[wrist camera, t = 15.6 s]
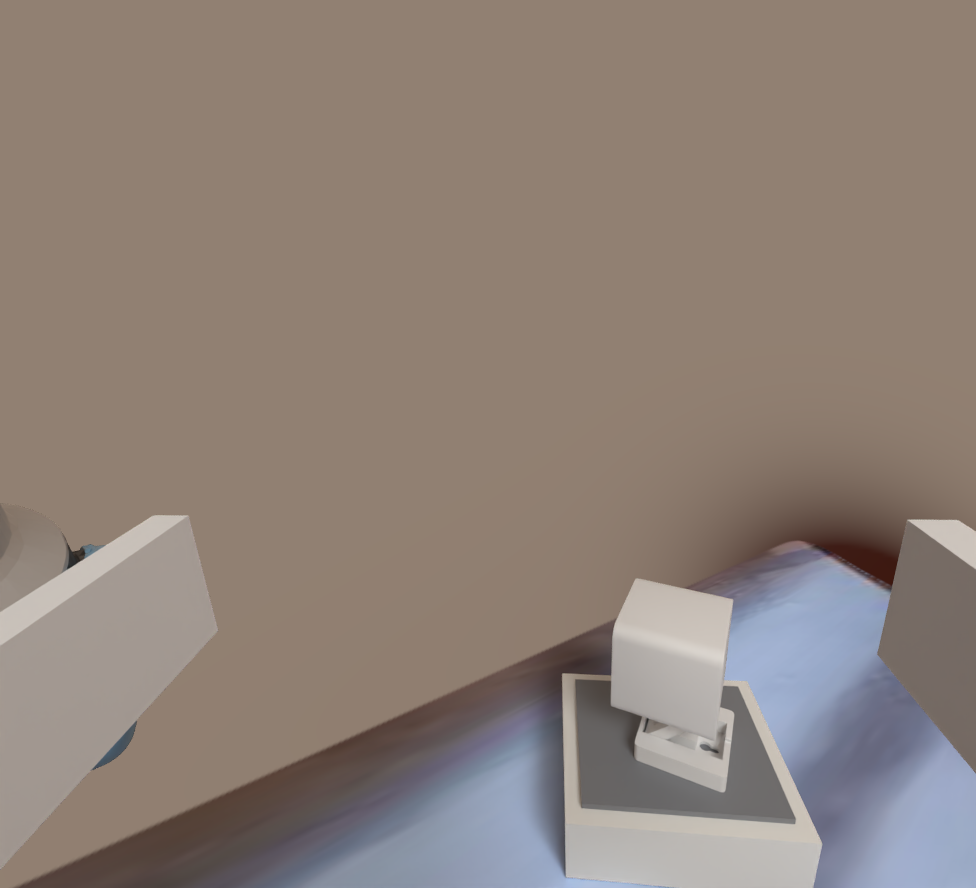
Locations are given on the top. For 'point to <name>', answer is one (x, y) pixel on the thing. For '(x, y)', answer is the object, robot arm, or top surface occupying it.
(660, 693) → the security camera
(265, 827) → the top surface
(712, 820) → the cream gray-topped block
